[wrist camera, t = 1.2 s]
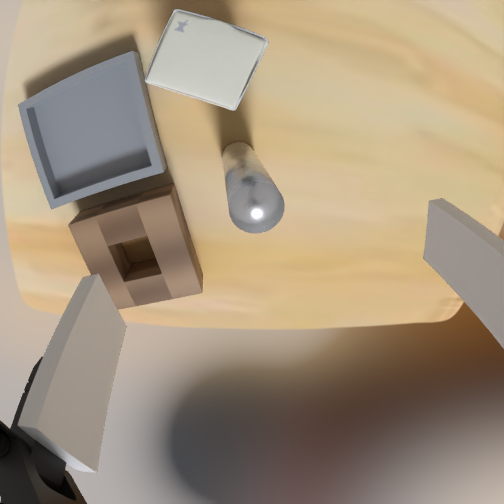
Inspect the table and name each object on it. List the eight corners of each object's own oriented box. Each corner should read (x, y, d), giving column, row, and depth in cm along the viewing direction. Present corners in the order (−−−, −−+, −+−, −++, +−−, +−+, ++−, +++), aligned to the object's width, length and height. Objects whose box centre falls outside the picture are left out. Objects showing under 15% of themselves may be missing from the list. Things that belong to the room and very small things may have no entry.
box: (168, 85, 22) (135, 81, 12) (188, 39, 20) (170, 4, 10) (227, 104, 23) (236, 113, 14) (247, 59, 21) (271, 37, 12)
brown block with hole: (80, 211, 26) (68, 225, 23) (174, 183, 26) (170, 194, 23) (117, 293, 31) (110, 310, 28) (202, 275, 31) (202, 292, 29)
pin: (219, 145, 25) (223, 188, 15) (251, 138, 25) (280, 176, 15) (225, 175, 26) (235, 238, 16) (257, 168, 26) (287, 226, 16)
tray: (29, 102, 20) (18, 104, 18) (138, 53, 20) (133, 50, 18) (59, 201, 25) (51, 209, 23) (167, 166, 25) (163, 172, 23)
